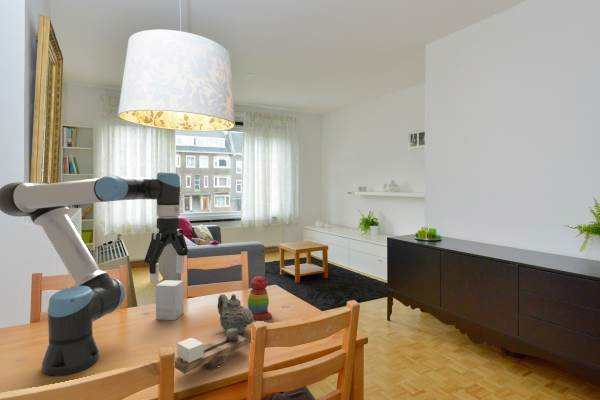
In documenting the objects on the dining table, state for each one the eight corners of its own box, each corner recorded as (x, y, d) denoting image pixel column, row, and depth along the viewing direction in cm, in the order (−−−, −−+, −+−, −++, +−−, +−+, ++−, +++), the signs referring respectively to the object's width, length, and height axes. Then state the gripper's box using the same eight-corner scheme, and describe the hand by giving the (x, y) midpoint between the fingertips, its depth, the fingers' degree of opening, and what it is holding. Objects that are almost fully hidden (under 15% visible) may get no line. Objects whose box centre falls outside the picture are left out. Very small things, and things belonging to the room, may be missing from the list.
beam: (184, 383, 99) (184, 356, 99) (171, 375, 103) (171, 349, 103) (247, 353, 118) (247, 330, 118) (233, 346, 123) (233, 324, 122)
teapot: (262, 334, 133) (262, 296, 133) (238, 344, 124) (239, 303, 124) (229, 319, 147) (229, 285, 147) (205, 327, 139) (206, 291, 138)
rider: (189, 369, 100) (189, 349, 100) (177, 362, 104) (177, 342, 104) (203, 362, 104) (203, 343, 104) (191, 356, 108) (191, 337, 108)
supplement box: (184, 313, 154) (184, 280, 154) (175, 320, 145) (175, 286, 145) (165, 312, 155) (165, 279, 155) (155, 319, 146) (155, 285, 146)
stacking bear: (273, 318, 149) (273, 278, 149) (250, 321, 146) (251, 280, 145) (266, 310, 159) (266, 272, 159) (245, 313, 156) (245, 274, 155)
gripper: (152, 220, 105) (151, 288, 106) (198, 215, 129) (197, 270, 130) (132, 219, 107) (132, 286, 108) (181, 214, 131) (180, 268, 132)
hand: (167, 277), depth 119 cm, fingers open, 13 cm apart
